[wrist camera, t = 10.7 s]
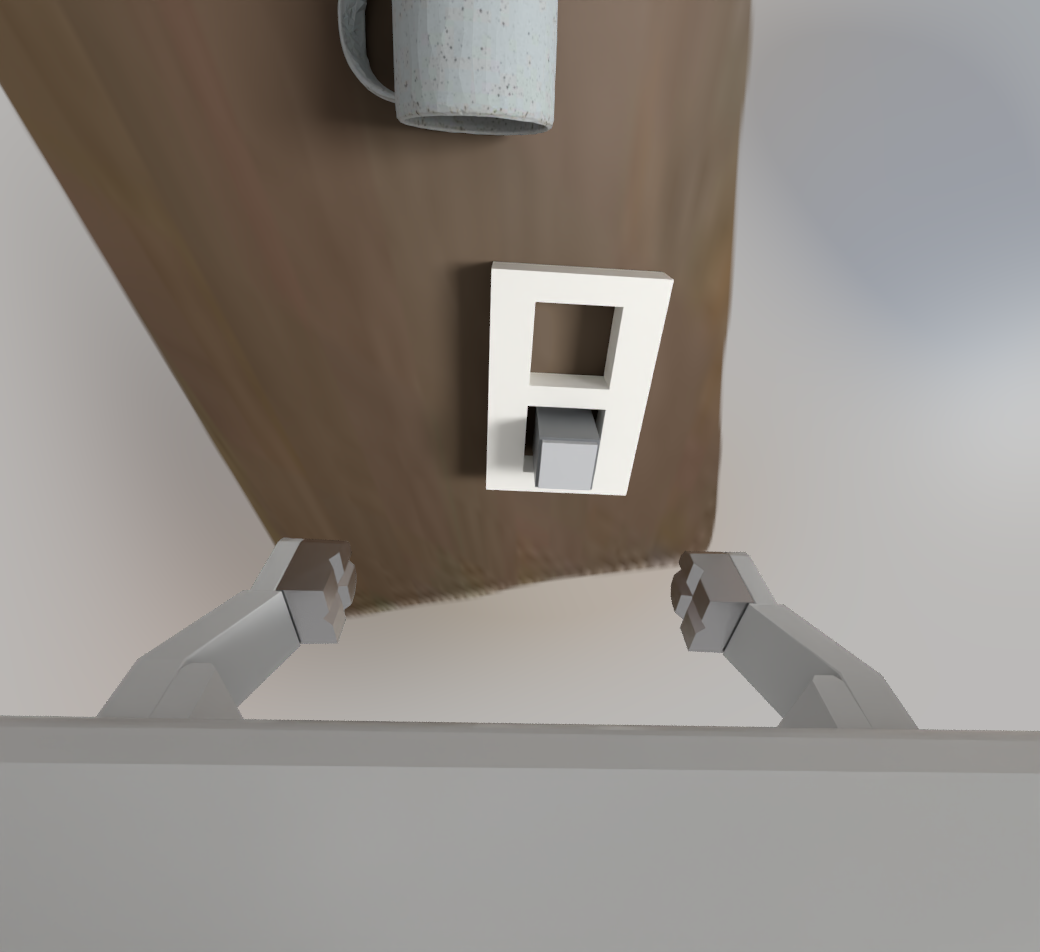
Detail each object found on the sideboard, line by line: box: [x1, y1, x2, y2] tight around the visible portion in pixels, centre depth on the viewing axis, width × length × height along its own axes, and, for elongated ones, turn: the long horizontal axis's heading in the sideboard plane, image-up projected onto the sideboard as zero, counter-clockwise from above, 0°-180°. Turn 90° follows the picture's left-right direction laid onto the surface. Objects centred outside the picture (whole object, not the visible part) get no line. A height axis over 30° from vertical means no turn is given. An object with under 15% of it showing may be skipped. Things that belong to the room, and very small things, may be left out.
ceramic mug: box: [338, 0, 558, 135], centre depth 21 cm, size 11×8×8 cm
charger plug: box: [532, 406, 600, 490], centre depth 34 cm, size 4×4×6 cm
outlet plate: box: [486, 261, 674, 495], centre depth 34 cm, size 16×11×2 cm
